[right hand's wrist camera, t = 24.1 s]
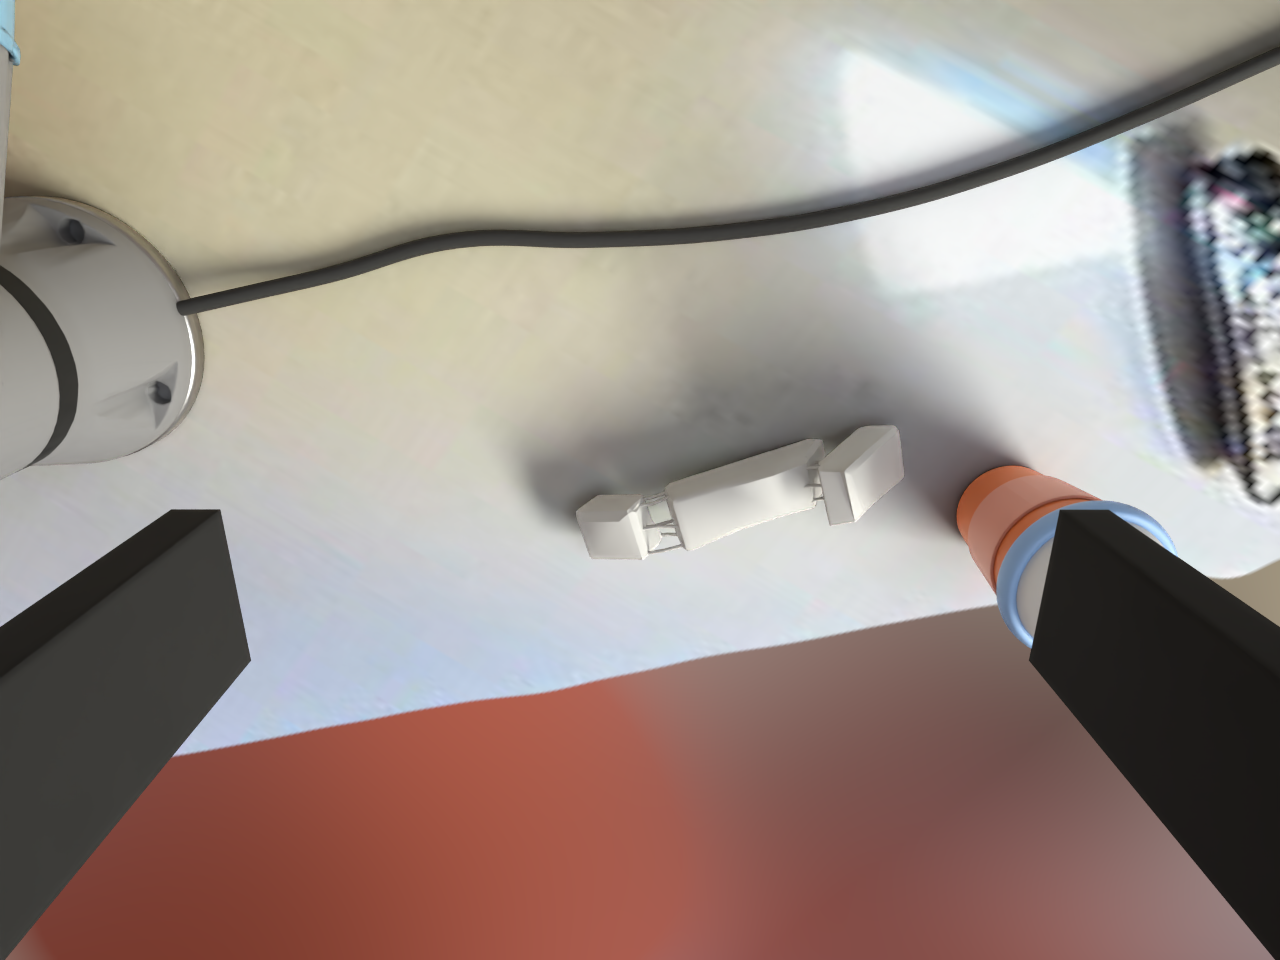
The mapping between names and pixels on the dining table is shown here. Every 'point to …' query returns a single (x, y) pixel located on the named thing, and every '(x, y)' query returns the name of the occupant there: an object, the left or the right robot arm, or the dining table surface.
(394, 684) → the dining table surface
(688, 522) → the clamp
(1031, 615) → the cup with straw
